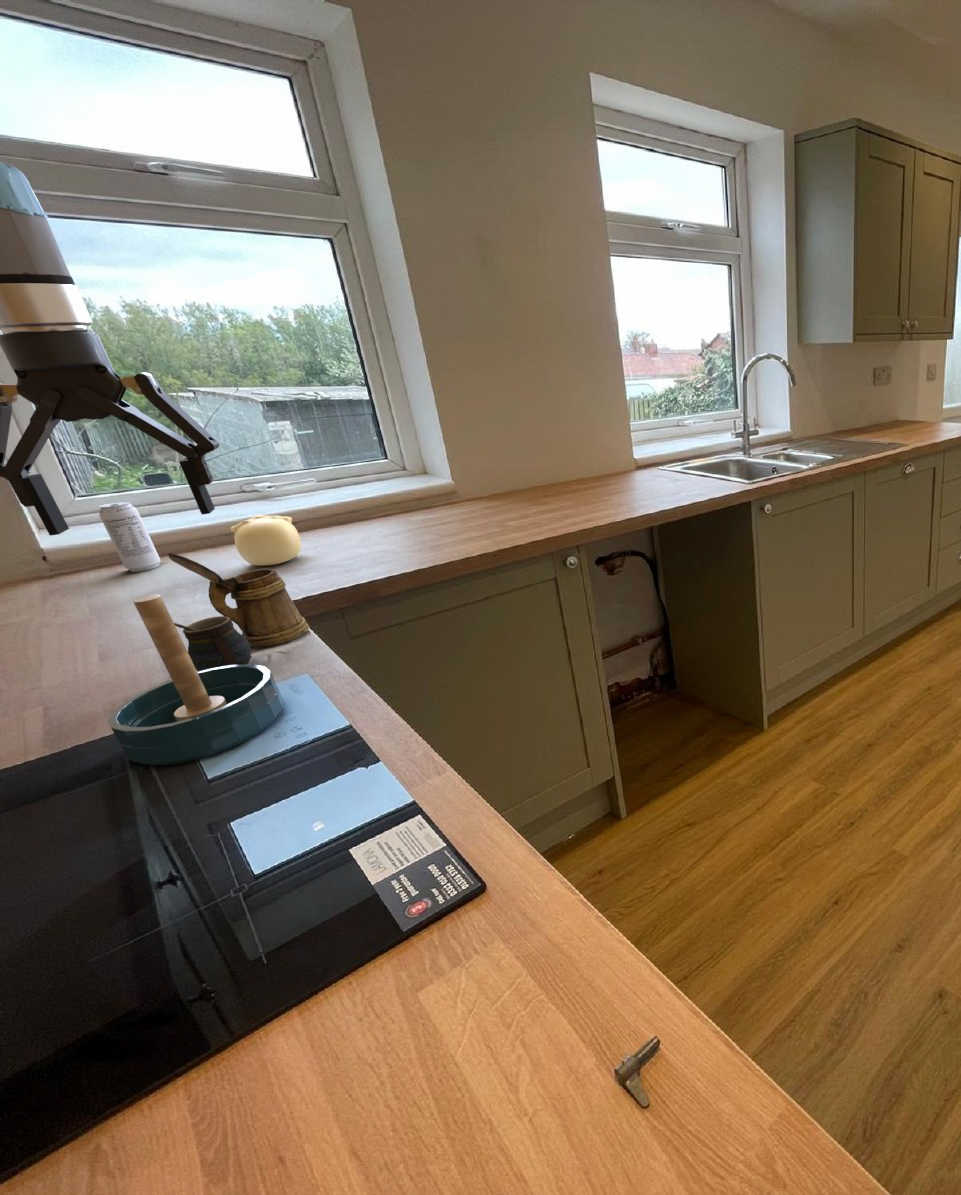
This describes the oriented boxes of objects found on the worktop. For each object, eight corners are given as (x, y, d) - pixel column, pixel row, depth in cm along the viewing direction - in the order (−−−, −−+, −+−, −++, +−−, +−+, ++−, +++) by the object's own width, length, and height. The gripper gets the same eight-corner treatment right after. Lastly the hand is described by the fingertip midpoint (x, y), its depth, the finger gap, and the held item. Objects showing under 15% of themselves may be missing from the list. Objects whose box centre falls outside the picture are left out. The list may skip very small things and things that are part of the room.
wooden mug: (201, 655, 104) (151, 550, 97) (290, 621, 115) (252, 524, 108) (231, 665, 100) (182, 556, 93) (321, 628, 112) (283, 529, 104)
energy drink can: (164, 561, 151) (136, 499, 145) (159, 568, 147) (129, 504, 141) (130, 567, 148) (99, 504, 142) (124, 574, 144) (92, 509, 138)
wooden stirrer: (180, 742, 80) (113, 610, 73) (186, 723, 84) (122, 597, 77) (231, 727, 83) (171, 598, 75) (235, 710, 86) (177, 586, 79)
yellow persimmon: (304, 549, 155) (288, 506, 151) (308, 561, 146) (291, 515, 142) (244, 561, 148) (225, 516, 144) (245, 575, 140) (225, 527, 135)
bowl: (115, 787, 74) (92, 747, 71) (143, 725, 85) (124, 689, 83) (283, 736, 82) (267, 699, 79) (286, 686, 93) (272, 652, 91)
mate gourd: (266, 665, 100) (241, 606, 96) (206, 688, 94) (177, 626, 90) (245, 655, 103) (220, 598, 99) (186, 677, 98) (157, 617, 94)
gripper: (203, 325, 77) (269, 498, 86) (-102, 337, 67) (7, 533, 75) (185, 323, 71) (258, 510, 80) (-155, 337, 60) (-29, 550, 69)
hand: (137, 521), depth 77 cm, fingers open, 13 cm apart
